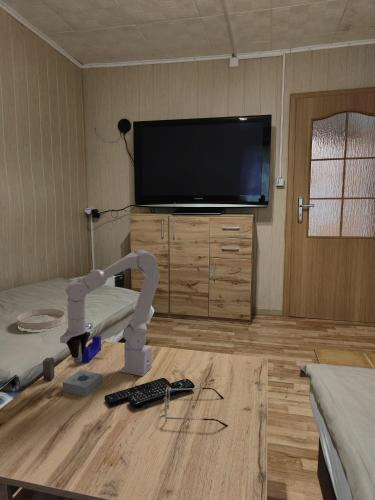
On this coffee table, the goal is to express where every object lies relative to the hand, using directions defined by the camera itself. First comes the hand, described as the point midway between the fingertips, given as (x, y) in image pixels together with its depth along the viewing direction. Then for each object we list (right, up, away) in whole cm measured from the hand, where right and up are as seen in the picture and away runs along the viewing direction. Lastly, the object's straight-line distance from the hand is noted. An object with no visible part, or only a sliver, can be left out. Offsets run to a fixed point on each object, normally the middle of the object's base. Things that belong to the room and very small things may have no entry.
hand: (77, 355), depth 115 cm
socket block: (+3, -9, -3) cm, 10 cm away
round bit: (0, -2, 0) cm, 2 cm away
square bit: (-10, -9, +1) cm, 14 cm away
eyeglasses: (+40, -12, -15) cm, 44 cm away
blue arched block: (-2, -7, +20) cm, 21 cm away
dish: (-35, -2, +53) cm, 64 cm away
